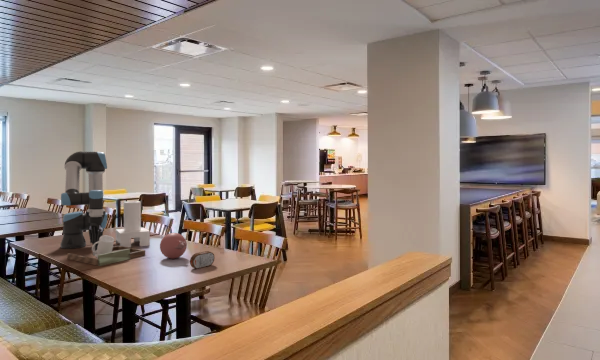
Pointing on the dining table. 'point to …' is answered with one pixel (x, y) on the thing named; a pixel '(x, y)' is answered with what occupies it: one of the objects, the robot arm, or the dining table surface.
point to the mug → (104, 245)
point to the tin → (202, 259)
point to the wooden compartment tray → (109, 256)
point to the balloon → (173, 245)
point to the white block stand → (132, 226)
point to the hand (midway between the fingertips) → (95, 255)
